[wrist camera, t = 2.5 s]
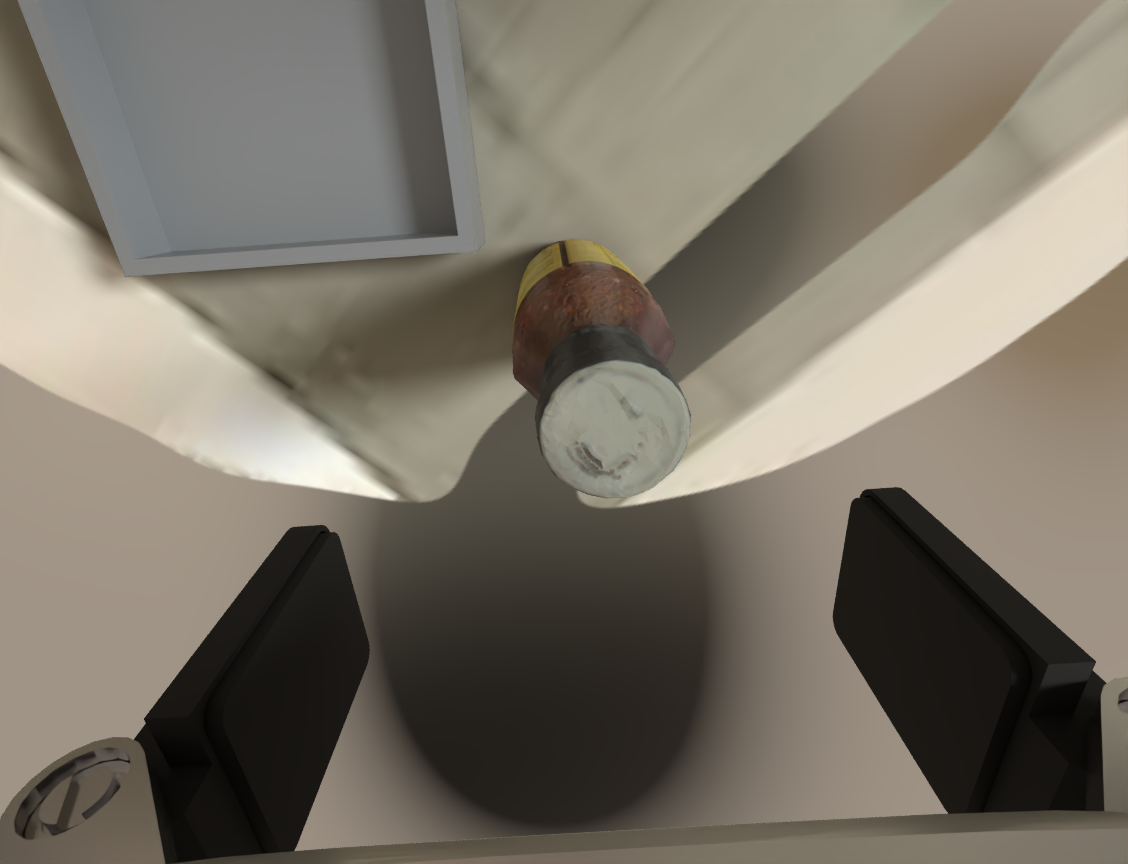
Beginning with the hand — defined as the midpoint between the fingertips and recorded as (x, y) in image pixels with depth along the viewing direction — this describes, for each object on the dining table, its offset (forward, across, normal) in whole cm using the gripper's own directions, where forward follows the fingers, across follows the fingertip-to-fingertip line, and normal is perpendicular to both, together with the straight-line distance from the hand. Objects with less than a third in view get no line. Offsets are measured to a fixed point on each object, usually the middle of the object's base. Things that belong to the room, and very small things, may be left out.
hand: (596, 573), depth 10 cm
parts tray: (+25, +13, -13) cm, 31 cm away
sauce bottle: (+25, -1, -1) cm, 25 cm away
